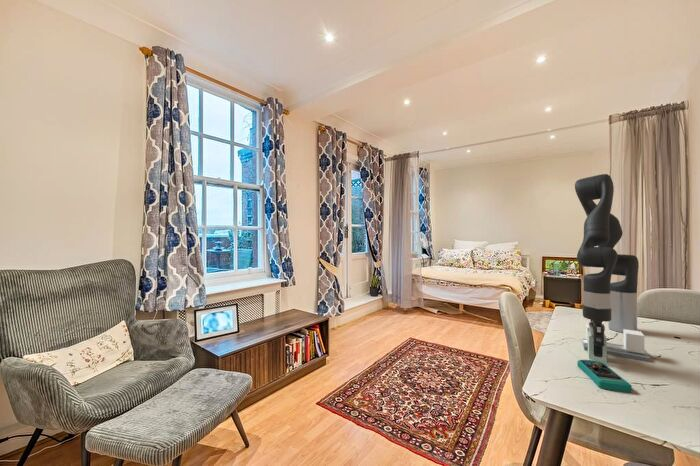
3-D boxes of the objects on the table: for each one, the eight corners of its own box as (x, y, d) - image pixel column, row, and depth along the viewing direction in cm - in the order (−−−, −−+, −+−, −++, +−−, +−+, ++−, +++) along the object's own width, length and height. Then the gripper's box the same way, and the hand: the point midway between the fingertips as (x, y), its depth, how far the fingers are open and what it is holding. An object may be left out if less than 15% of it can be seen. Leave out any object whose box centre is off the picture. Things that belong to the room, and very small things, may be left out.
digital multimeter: (603, 369, 92) (603, 360, 92) (633, 395, 77) (632, 383, 77) (576, 366, 94) (576, 357, 94) (599, 390, 80) (599, 379, 80)
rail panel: (582, 341, 114) (582, 321, 114) (643, 352, 104) (643, 330, 104) (584, 349, 106) (584, 328, 106) (650, 362, 96) (650, 338, 96)
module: (587, 353, 103) (587, 330, 103) (604, 356, 100) (604, 332, 100) (589, 359, 98) (588, 334, 98) (606, 362, 96) (606, 337, 96)
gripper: (581, 299, 107) (581, 343, 107) (584, 307, 96) (584, 356, 96) (608, 302, 103) (608, 348, 103) (614, 311, 91) (614, 362, 91)
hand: (596, 352), depth 99 cm, fingers open, 8 cm apart
